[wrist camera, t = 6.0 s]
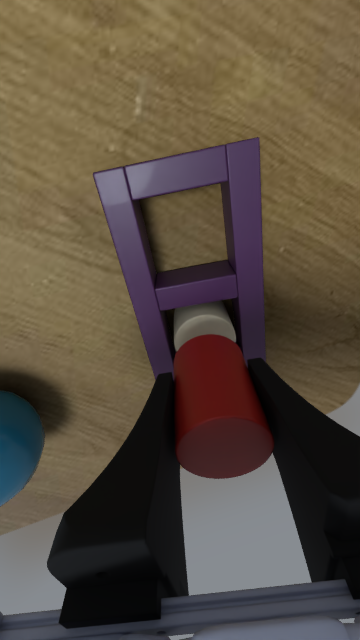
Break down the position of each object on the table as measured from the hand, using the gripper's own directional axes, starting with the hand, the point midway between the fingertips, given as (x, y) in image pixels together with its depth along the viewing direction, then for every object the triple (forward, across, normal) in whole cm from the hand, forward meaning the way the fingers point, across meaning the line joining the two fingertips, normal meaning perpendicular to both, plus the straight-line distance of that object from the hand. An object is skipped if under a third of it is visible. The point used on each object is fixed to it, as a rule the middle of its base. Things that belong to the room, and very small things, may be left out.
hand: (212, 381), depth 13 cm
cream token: (+6, 0, 0) cm, 6 cm away
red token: (+1, 0, 0) cm, 1 cm away
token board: (+6, 0, 0) cm, 6 cm away
